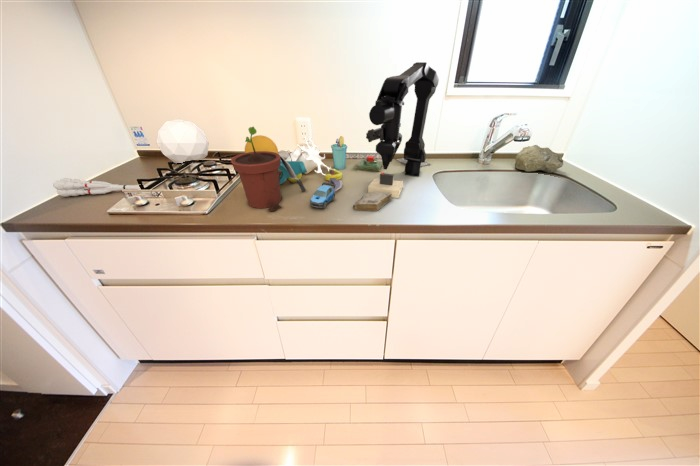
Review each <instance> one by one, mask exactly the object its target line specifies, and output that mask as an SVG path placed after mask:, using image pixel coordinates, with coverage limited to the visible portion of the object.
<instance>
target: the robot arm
mask: <svg viewBox="0 0 700 466" xmlns="http://www.w3.org/2000/svg"><path fill="white" fill-rule="evenodd" d="M439 82H440V79H439V75H438V72H437V71H436V70H434V68H433V67H431V66H430V64H429V62H427V61H425V62H424V61H423V62H419V61H417V62H415V63H413V64H412V66H410V67H409V68H408V69H406V70H404V72H402V73H400V74H399V75H393V76H389V77H386V78H385V80H384V81H383V83H382V85H381V88H380V90H379V93H378V96H377V98H376V100H375V104H374V105H372V107H371V109H370V111H369V112H368V116H369V117H368V118H369V120H370V122H371V124H373V125H374V126H380V127H378V128H375V129H374V128H371V129H368V130H367V131H366V134H365V135H366V136H365V138H366V140H367V141H368V143H372V142H373V141H377V140H379V142H378V143H377V144H376V145H375V152H376V154H379V155H380V157H381V162H382V163H383V166H382V169H383V170H385V171H386V170H387V169H388V168H389V165H390V163H392V161H393V159H394V158H395V156H396V153H397V151H398V150H399V148H400V145H401V143H402V141H403V135H402V133H400V128H401V125H402V124H401V119H402V118H401V117H402V111H403V110H402V109H403V106H404V105H405V102H404V99H405V97H406V96H407V94H408V93H409V89H410V87H411V86H413V85H414V89H413V90H414V95H415V96H416V105H415V110H414V115H413V122H412V127H411V135H410V137H409V139H408V140H407V141H405V145H404V148H403V158H404V160H407V162H406V164H404V175H405V176H412V177H413V176H414V177H420V174H421V167H422V166H421V163H424V162H426V160H427V153H426V151H425V147H426V146H425V145H426V144H425V141H424V138H423V136H424V130H425V125H426V120H427V114H428V110H429V104H430V100H431V98H432V97H433V96H434V95H435V93H436V90H437V88H438V85H439Z"/></svg>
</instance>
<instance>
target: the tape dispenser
mask: <svg viewBox="0 0 700 466" xmlns="http://www.w3.org/2000/svg"><path fill="white" fill-rule="evenodd" d="M287 162H288V163H289V164H290V166H291V168H292V170H293V171H294V173H295V175H298V174H301V173H302V175H303V174H305V173H306V172H307V170H306V168H305V165H304V163H303V161H287ZM278 169H279V170H281V171H282V172H281V174H279V175H280V176H279V183H280V185H282V184H284V183H285V182H286V181H287V178H290V177H291V176H290V175H289V173H288V171H287V169H286V168H285V166H284V164H283V162H282V161H281V164H280V166H279V167H278Z"/></svg>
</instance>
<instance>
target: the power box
mask: <svg viewBox="0 0 700 466" xmlns="http://www.w3.org/2000/svg"><path fill="white" fill-rule="evenodd" d="M381 169H383V163H382V161H379V160H378V159H377V158H375V157H374V161H367V157H365V158H363V159H361V160H360V161H359V162H358V163H357V164H356V170H359V171H368V172H376V173H380V171H381Z"/></svg>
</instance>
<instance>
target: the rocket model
mask: <svg viewBox="0 0 700 466" xmlns="http://www.w3.org/2000/svg"><path fill="white" fill-rule="evenodd" d="M139 185H140V184H118V183H110V182H107V181H101V180H100V181H99V180H92V181H89V180H88V181H87V180H84V179H81V180H80V179H77V178H68V177H65V178H61V179H60V180H55V181H54V182H53V183H52V187H53V188H54V189H56V193H57V194H58V196H60V197H65V198H69V197H77V196H80V195H81V196H84V195H89V194H90V195H92V196H93V195H103V194H105V195H106V194H107V193H111V192H120V191H121V190H123V189H139V188H140V187H139ZM143 185H144V187H148V186H147V185H145V184H143Z"/></svg>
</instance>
